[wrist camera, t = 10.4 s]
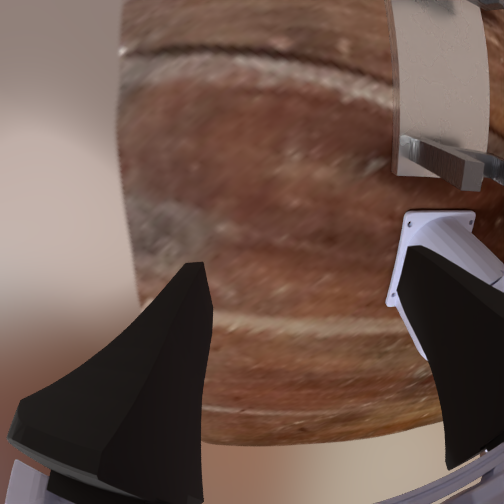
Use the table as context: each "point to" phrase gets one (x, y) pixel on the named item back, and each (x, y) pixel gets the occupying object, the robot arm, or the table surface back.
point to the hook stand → (441, 91)
